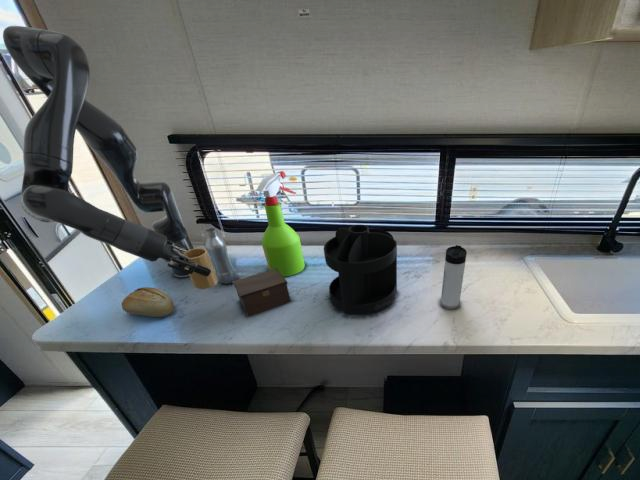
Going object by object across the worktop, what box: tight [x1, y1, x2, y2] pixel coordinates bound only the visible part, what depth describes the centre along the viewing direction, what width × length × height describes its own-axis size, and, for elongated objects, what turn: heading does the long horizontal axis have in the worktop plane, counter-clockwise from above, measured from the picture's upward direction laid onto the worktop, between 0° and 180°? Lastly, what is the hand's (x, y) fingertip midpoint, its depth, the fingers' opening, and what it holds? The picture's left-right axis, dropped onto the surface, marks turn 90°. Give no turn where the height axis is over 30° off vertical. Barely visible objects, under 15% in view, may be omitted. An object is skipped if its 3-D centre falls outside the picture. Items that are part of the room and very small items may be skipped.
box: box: [231, 268, 291, 317], centre depth 103 cm, size 11×14×8 cm
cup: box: [184, 247, 219, 290], centre depth 91 cm, size 6×6×10 cm
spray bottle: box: [255, 170, 306, 278], centre depth 116 cm, size 14×18×35 cm
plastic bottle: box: [203, 227, 238, 284], centre depth 110 cm, size 6×7×20 cm
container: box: [323, 224, 398, 316], centre depth 101 cm, size 22×23×25 cm
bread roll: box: [121, 286, 175, 318], centre depth 98 cm, size 10×15×8 cm, turn 86°
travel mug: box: [440, 244, 468, 310], centre depth 100 cm, size 6×7×20 cm
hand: (207, 268), depth 92 cm, fingers closed on cup, 6 cm apart
